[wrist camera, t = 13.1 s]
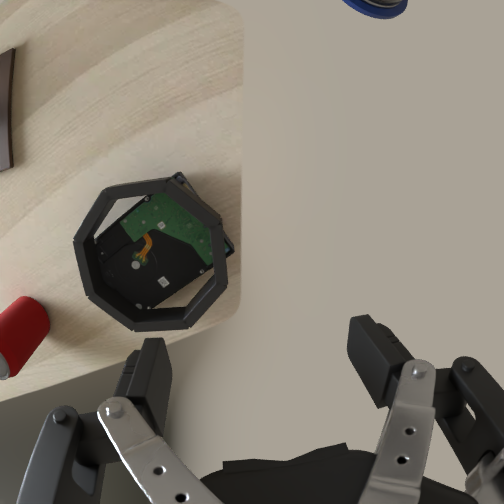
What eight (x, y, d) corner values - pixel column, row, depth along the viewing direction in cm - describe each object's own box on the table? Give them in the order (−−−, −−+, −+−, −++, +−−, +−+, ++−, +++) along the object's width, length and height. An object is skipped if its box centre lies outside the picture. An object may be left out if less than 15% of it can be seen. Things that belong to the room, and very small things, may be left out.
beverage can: (11, 309, 33) (-32, 352, 22) (28, 284, 32) (-21, 327, 21) (40, 342, 35) (4, 391, 24) (60, 320, 34) (20, 372, 23)
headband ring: (77, 191, 27) (64, 195, 24) (218, 171, 28) (217, 173, 26) (105, 320, 32) (97, 333, 29) (231, 311, 33) (232, 325, 30)
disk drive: (139, 311, 35) (235, 244, 34) (134, 323, 33) (237, 252, 31) (85, 247, 32) (179, 168, 30) (76, 255, 29) (175, 169, 28)
